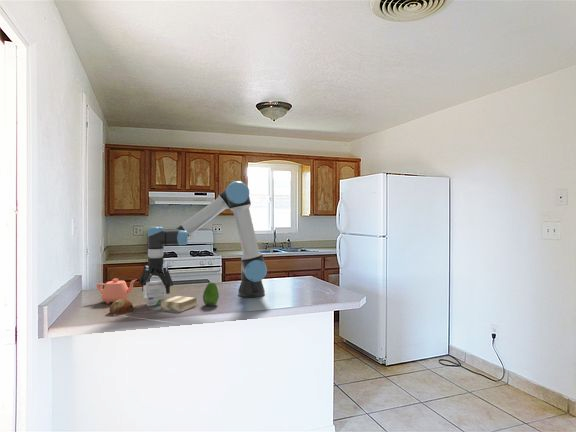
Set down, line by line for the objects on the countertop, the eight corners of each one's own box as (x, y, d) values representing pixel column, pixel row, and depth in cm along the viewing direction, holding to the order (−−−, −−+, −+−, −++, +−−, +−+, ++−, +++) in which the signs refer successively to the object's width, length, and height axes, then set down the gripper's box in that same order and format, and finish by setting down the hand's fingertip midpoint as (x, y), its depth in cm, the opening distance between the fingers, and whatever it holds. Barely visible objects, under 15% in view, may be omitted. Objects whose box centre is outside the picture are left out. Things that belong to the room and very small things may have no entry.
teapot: (134, 303, 198) (134, 280, 198) (92, 305, 194) (92, 281, 194) (139, 298, 211) (139, 276, 211) (100, 299, 208) (100, 277, 207)
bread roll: (118, 316, 187) (111, 302, 187) (138, 307, 188) (130, 292, 187) (110, 322, 177) (103, 307, 177) (131, 312, 178) (123, 297, 178)
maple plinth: (196, 305, 193) (196, 297, 192) (181, 311, 181) (181, 303, 181) (176, 303, 197) (176, 295, 197) (160, 309, 186) (160, 300, 186)
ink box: (164, 302, 199) (163, 279, 200) (164, 304, 195) (163, 281, 195) (147, 304, 197) (146, 281, 197) (146, 306, 192) (145, 282, 192)
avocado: (219, 307, 191) (219, 283, 191) (203, 308, 189) (203, 284, 189) (217, 303, 199) (217, 280, 199) (202, 304, 197) (202, 281, 197)
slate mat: (198, 305, 194) (198, 304, 194) (178, 313, 180) (178, 312, 180) (169, 302, 201) (169, 301, 201) (148, 309, 186) (148, 308, 186)
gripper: (180, 257, 194) (180, 299, 195) (142, 255, 203) (142, 295, 204) (170, 259, 187) (170, 302, 188) (131, 256, 197) (131, 298, 197)
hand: (155, 298), depth 196 cm, fingers open, 12 cm apart
